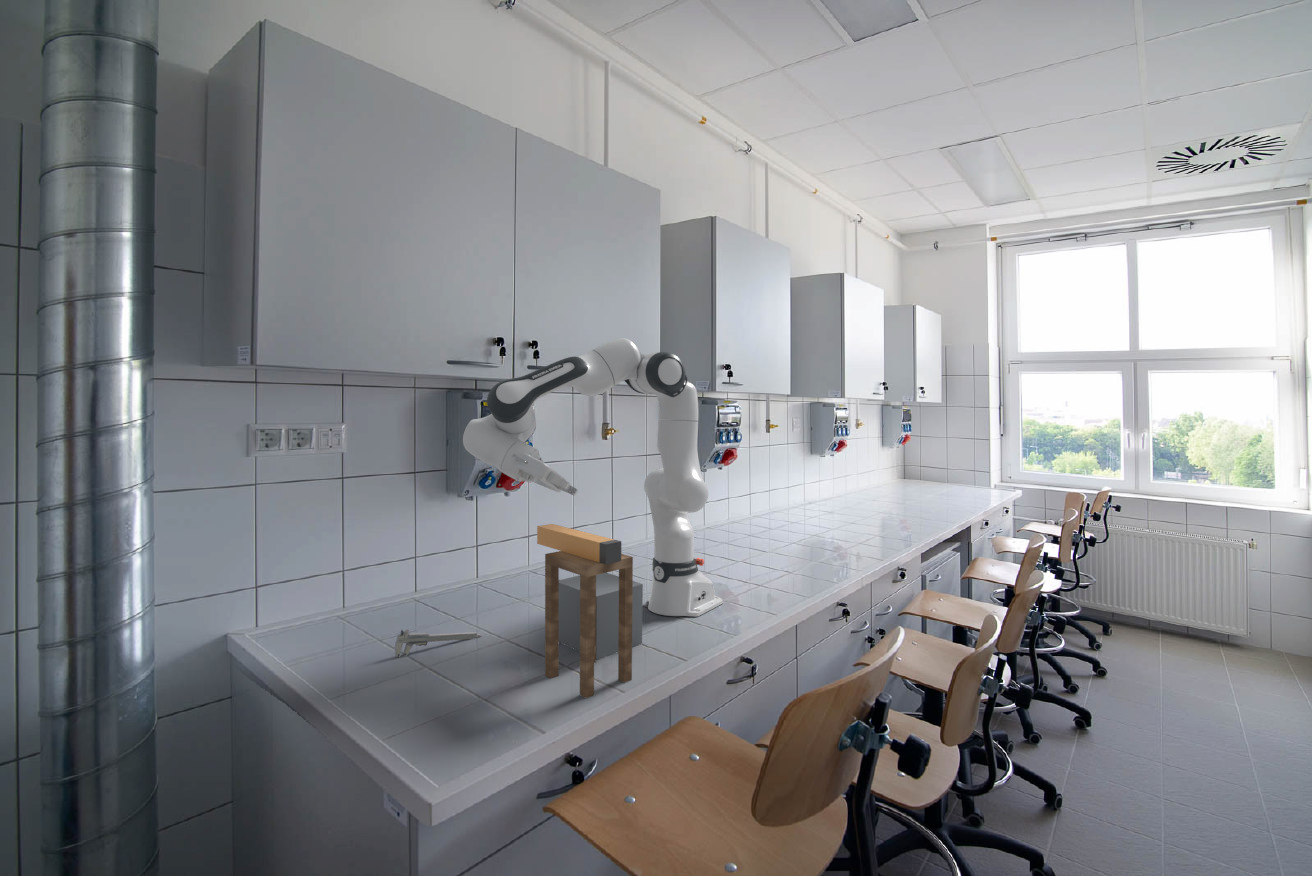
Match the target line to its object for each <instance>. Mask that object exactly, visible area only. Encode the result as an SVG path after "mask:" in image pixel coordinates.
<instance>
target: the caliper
mask: <svg viewBox="0 0 1312 876" xmlns="http://www.w3.org/2000/svg"><path fill="white" fill-rule="evenodd" d="M481 637H482V634H480V633H478V632H476V631H473V632H472V631H470V632H469V631H468V632H455V633H454V632H451V633H448V632H447V633H437V634H435V633H431V634H429V633H428V632H417V633H416V632H414V633H410V631H409V629H405V630H403V629H401V630H400V633H399V634H397V636H396V640H395V645H394V646H395V647H394V648H395V650H394V652H395V657H397V658H400V657H399V656H400V655H401V652H402V647H403V644H405V645H404V646H405V647H404V650H403V656H404V655H407V656H408V655H409V654H410V651H411V649H412V648H413V646H414V645H416V646H419V647H420V646H427V645H428V643H430V642H431V643H432V642H447V641H448V642H449V641H462V640H466V641H467V640H474V639H476V638H481ZM473 638H474V639H473Z"/></svg>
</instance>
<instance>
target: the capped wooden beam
mask: <svg viewBox="0 0 1312 876" xmlns="http://www.w3.org/2000/svg"><path fill="white" fill-rule="evenodd" d="M536 529H537V530H536V540H537V541H536V545H537V544H538V545H540V546H542V547H543V546H544V547H546V548H550V549H552V550H553V549H554V550H557V551H563V552H566V553H570V554H573V555H576V556H579V557H583V558H586V559H589V560H593V561H596V562H599V563H603V564H610V563H615V562H619V561H621V554H622V541H621V540H618V539H613V538H611V537H605V536H602V535H599V534H595V533H590V532H586V531H582V530H577V529H573V528H570V527H567V526H562V525H558V524H555V523H548V524H542V525H537V527H536Z"/></svg>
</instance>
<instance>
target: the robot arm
mask: <svg viewBox="0 0 1312 876" xmlns="http://www.w3.org/2000/svg"><path fill="white" fill-rule="evenodd" d="M621 382H625V383H626V385H628V387H629V388H630V389H631V390H633V391H634V392H636V393H638V394H647V395H655V397H656V398H657V402H658V407H659V409H658V424H657V441H656V442H657V444H656V445H657V451H658V452H659V454H660V458H661V463H662V467H661V468H658V469H654V470H652V471H651V472H650V473H648V475H647V476H645V477H646V478H645V479H644V484H643V489H644V492H645V495H646V497H647V499H648V502H649V508H650V513H651V518H652V519H651V520H652V524H653V533H654V535H653V537H654V545H653V546H654V547H653V548H654V557H653V558H652V573H653V575H652V582H651V587H650V588H651V590H650V596H649V597H648V606H647V608H648V610H649V611H650V612H652V613H654V614H657V615H661V616H668V617H694V618H695V617H700V616H702V615H704V614H705V613H707V612H710V611H711V610H713V609H715V608H717V607H718V606H720V605H722V604H723V603H724V602H723V599H722V598H721V597H720V596H717V595H715V587H714V583H713V581H712V580H710V578H708V577H707V576H706V575H705V574H703V573H702V572H701V571H700V570H699V567H698V566H700V567H703V566H704V565H705V560H704V558H701V557H697V558H695V556H694V555H695V554H694V552H695V531H694V528H693V526H692V524H691V521H690V518H689V515H688V514H691V513H698V512H699V511H700V510H702V509H703V508H704V507H705V506H706V504H707V502H708V499H709V488H708V486H707V484H706V482H705V481H704V479H703V475H702V471H701V465H700V460H699V454H698V435H699V432H698V431H699V398H698V391H697V387H696V386H695V385H694V384H693V383H691V382H690V381H688V377H687V375H686V369H685V366H684V363H683V362H682V360H681V358H679V356H678V355H676V354H674V353H671V352H668V351H659V352H658V351H657V352H656V351H654V352H648V353H644V354H643V353H641V352H640V350H639V349H638V346H637V345H636V344H635V343H634V342H633V341H632V340H630V339H629V338H626V337H620V338H616V339H613V340H611V341H607V342H606V343H603V344H601V345H599V346H596V347H595V348H593V349H591V350H589V351H587V352H585V353H583V354H581V355H579V356H569V357H565V358H563V359H560V360H557V361H554V362H553V363H550V364H548V365H545V366H543V367H541V368H538V369H536V370H534V371H532V372H530V373H528V374H525V375H522V376H518V377H513V378H507V379H505V380H500V381H499V382H497V383H496V384H495V385H493V386H492V387H491V389H490V390H489V391H488V394H487V397H486V404H487V407H488V409H489V412H490V413H491V414H488V415H486V416H484V417H481V418H473V419H471V420H470V421H469V422H468V423H467V424H466V426H465V428H464V431H463V434H462V443H463V447H464V449H465V450H466V451H467V452H468V453H469V454H470V455H472V456H473V457H475V458H476V459H478V460H480V461H481V462H483V463H484V464H486V465H487V466H488V465H489V466H491V467H494V468H496V469H497V470H499V472H501V473H503V475H506V476H507V477H510V478H511V479H513V480H515V481H517V482H519V483H521V482H527V483H530V484H531V483H535V484H537V485H540V486H542V487H544V488H547V489H549V490H551V491H554V492H556V493H561V492H565V493H568V494H570V495H571V496H573V497H575V496H576V495H577V493H578V491H579V490H578V489H577V487H574V486H572V485H571V484H570V482H569V481H567V479H566V478H565V477H563V476H562V475H560V474H559V473H558V472H557V471H556V470H554V469H553V468H552V467H550V465H548V464H547V463H545V462H544V460H543V458H542V456H541V455H540V453H539V452H540V451H539V450H538V448H536V447H533V446H532V445H530V444H528V443H527V441H528V440H529V439H530V438H531V437H532V436H533V434H534V433H535V431H536V428H537V421H536V415H535V410H534V404H535V402H536V401H538V399H540V398H542V397H545V396H547V395H549V394H551V393H553V392H555V391H558V390H560V389H563V388H565V387H572V388H574V389H575V391H577V392H578V393H579V394H581V395H584V396H585V397H586V396H587V397H596V396H598V395H602V394H603V393H605V392H607V391H609V390H610V389H612V388H614V387H615V386H617V385H618V384H620V383H621Z"/></svg>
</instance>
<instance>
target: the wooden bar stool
mask: <svg viewBox="0 0 1312 876" xmlns="http://www.w3.org/2000/svg"><path fill="white" fill-rule="evenodd" d="M544 557H545V558H544V569H545V570H544V572H545V573H544V602H545V605H544V614H545V615H544V618H545V620H544V628H545V629H544V650H545V651H544V658H545V659H544V662H545V663H544V664H545V665H544V667H545V668H544V670H545V671H544V672H545V673H544V676H545V675H546V676H545V677H547V678H549V679H552V678H556V677H559V674H560V673H559V671H560V670H559V667H560V666H559V661H560V658H559V654H560V651H559V649H560V648H559V645H560V642H559V580H560V579H559V578H560V577H559V574H560V570H564V571H567V572H570V573H573V574H577V576H579V575H580V652H579V695H580V696H581V697H583V698H584V699H588V698H590V697H593V696H594V695H595V663H596V662H597V660H596V575H598V574H602V573H611V572H614V571H618V576H619V642H618V652H617V654H618V659H617V661H618V662H617V663H618V664H617V666H618V667H617V668H618V669H617V670H618V673H617V674H618V676H617V680H618V681H620V682H622V683H624V684H625V683H628V682H630V681H633V647H632V592H633V581H634V580H633V578H634V576H633V572H634V571H633V569H634V568H633V567H634V565H633V564H634V563H633V562H634V557H633V556H631V555H628V554H624V553H621V561H619V562H615V563H610V564H603V563H599V562H596V561H593V560H589V559H586V558H583V557H579V556H576V555H573V554H570V553H566V552H563V551H560V550H557V551H554V552H548V553H545V554H544Z"/></svg>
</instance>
